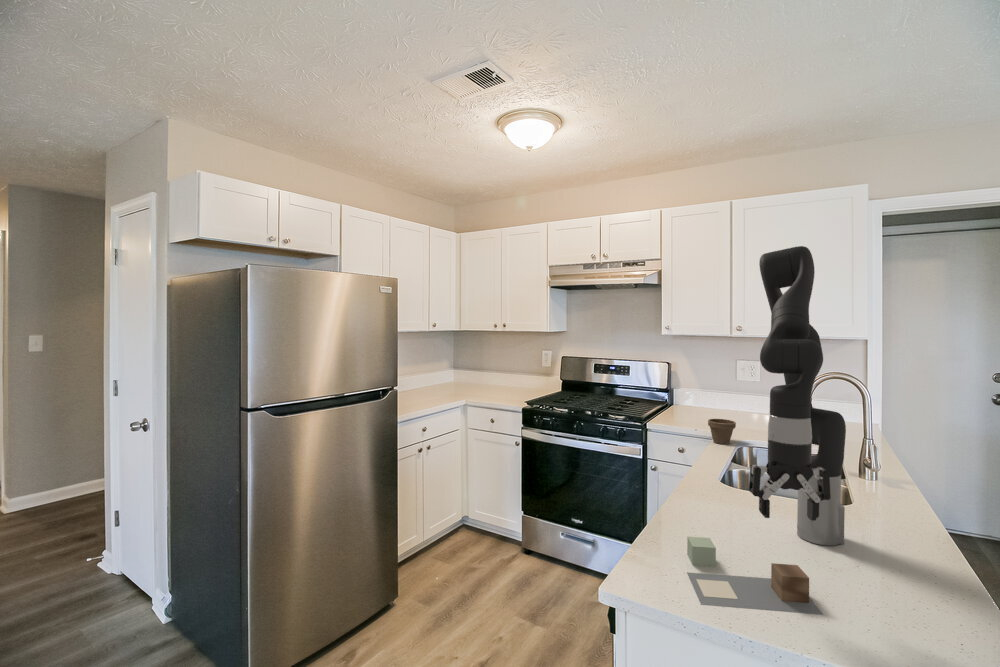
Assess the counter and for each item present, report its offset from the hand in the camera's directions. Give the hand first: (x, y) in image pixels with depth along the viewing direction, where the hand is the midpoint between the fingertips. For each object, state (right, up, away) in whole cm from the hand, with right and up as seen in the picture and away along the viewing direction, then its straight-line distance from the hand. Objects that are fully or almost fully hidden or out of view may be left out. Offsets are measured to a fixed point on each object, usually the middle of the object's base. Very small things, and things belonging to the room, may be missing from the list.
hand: (788, 517), depth 96 cm
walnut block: (0, -16, 0) cm, 16 cm away
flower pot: (+43, -13, +121) cm, 129 cm away
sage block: (-12, -16, +14) cm, 24 cm away
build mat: (-7, -16, +1) cm, 18 cm away
